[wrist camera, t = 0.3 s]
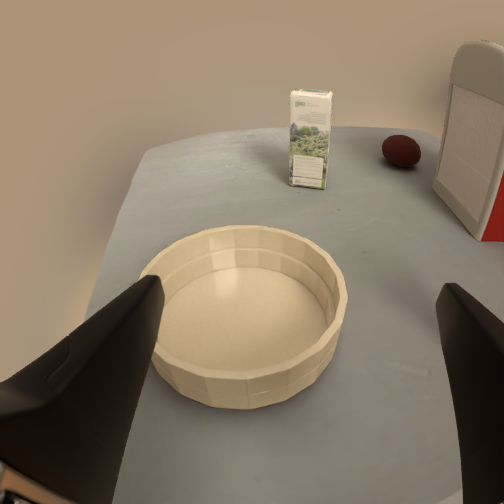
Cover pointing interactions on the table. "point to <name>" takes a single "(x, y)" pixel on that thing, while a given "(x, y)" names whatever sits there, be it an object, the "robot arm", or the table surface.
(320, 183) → the syrup box
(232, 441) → the table surface
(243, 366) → the bowl
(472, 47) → the red white rounded box
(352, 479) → the table surface
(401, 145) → the potato
